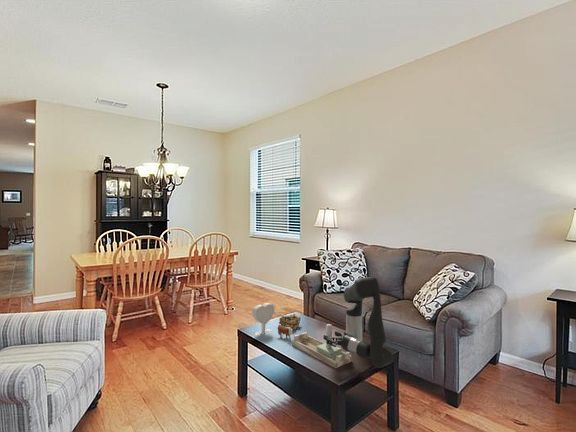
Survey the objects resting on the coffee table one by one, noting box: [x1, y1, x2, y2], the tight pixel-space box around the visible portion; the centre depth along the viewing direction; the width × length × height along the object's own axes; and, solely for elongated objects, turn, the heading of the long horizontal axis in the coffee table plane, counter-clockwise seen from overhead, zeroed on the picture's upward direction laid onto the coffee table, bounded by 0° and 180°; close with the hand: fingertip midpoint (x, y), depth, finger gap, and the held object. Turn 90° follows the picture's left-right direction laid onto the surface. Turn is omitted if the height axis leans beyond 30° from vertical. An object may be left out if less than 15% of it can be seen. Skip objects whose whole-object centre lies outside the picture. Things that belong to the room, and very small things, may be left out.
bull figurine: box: [277, 324, 295, 339], centre depth 196 cm, size 4×13×8 cm, turn 41°
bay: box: [291, 331, 353, 369], centre depth 175 cm, size 12×34×6 cm, turn 39°
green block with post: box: [317, 323, 342, 360], centre depth 170 cm, size 8×10×17 cm
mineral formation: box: [278, 313, 302, 330], centre depth 216 cm, size 8×13×15 cm
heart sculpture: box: [251, 302, 275, 336], centre depth 206 cm, size 16×5×18 cm, turn 132°
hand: (329, 334), depth 169 cm, fingers open, 8 cm apart
